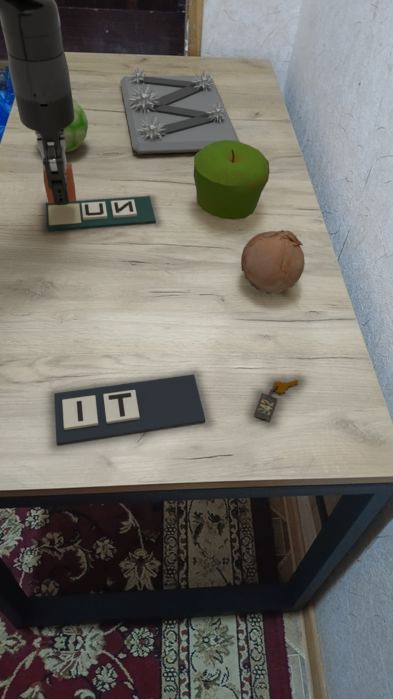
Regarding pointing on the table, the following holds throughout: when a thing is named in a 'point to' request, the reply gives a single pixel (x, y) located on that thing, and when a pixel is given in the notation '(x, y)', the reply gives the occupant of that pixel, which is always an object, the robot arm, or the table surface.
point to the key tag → (271, 400)
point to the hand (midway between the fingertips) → (61, 193)
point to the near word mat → (127, 409)
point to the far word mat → (99, 213)
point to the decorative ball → (76, 129)
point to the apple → (229, 179)
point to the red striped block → (69, 186)
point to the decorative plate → (174, 113)
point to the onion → (273, 261)
